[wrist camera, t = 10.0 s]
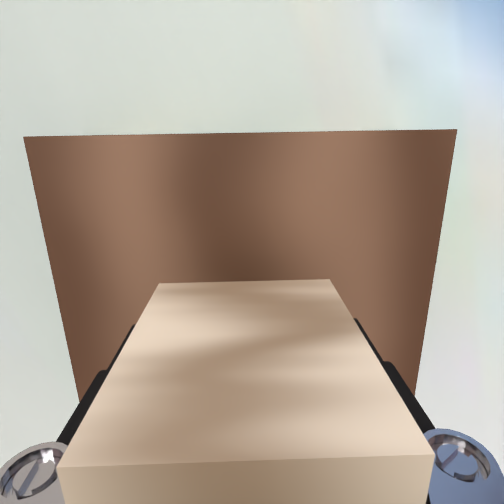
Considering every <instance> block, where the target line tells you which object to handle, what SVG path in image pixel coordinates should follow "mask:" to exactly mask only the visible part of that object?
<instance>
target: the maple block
mask: <svg viewBox="0 0 504 504" xmlns="http://www.w3.org/2000/svg"><path fill="white" fill-rule="evenodd" d="M434 458H435V453H434V451H433V450H432V448H431V446H430V445H429V443H428V441H427V440H426V438H425V436H424V435H423V433H422V431H421V430H420V428H419V426H418V425H417V423H416V422H415V420H414V418H413V417H412V415H411V413H410V412H409V410H408V408H407V407H406V405H405V403H404V402H403V400H402V398H401V397H400V395H399V393H398V392H397V390H396V388H395V387H394V385H393V383H392V382H391V380H390V378H389V377H388V375H387V373H386V372H385V370H384V369H383V367H382V365H381V364H380V362H379V360H378V359H377V357H376V355H375V354H374V352H373V350H372V349H371V347H370V345H369V344H368V342H367V340H366V339H365V337H364V335H363V334H362V332H361V330H360V329H359V327H358V325H357V324H356V322H355V320H354V319H353V317H352V316H351V314H350V312H349V311H348V309H347V307H346V306H345V304H344V302H343V301H342V299H341V297H340V296H339V294H338V292H337V291H336V289H335V287H334V286H333V284H332V282H331V281H330V279H317V280H277V281H236V282H196V283H159V284H158V286H157V288H156V290H155V291H154V293H153V295H152V297H151V299H150V300H149V302H148V304H147V306H146V307H145V309H144V311H143V313H142V315H141V316H140V318H139V320H138V322H137V324H136V325H135V327H134V329H133V331H132V333H131V334H130V336H129V338H128V340H127V341H126V343H125V345H124V347H123V349H122V350H121V352H120V354H119V356H118V358H117V359H116V361H115V363H114V365H113V367H112V368H111V370H110V372H109V374H108V376H107V377H106V379H105V381H104V383H103V384H102V386H101V388H100V390H99V392H98V393H97V395H96V397H95V399H94V401H93V402H92V404H91V406H90V408H89V410H88V411H87V413H86V415H85V417H84V418H83V420H82V422H81V424H80V426H79V427H78V429H77V431H76V433H75V435H74V436H73V438H72V440H71V442H70V444H69V445H68V447H67V449H66V451H65V453H64V454H63V456H62V458H61V460H60V461H59V463H58V465H57V467H56V469H57V473H58V477H59V481H60V485H61V489H62V493H63V497H64V501H65V504H426V499H427V494H428V489H429V484H430V479H431V474H432V468H433V463H434Z"/></svg>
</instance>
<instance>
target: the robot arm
mask: <svg viewBox="0 0 504 504" xmlns="http://www.w3.org/2000/svg"><path fill="white" fill-rule="evenodd" d="M353 319H354V320H355V322H356V324H357V325H358V327H359V329H360V330H361V332H362V334H363V335H364V337H365V339H366V340H367V342H368V344H369V345H370V347H371V349H372V350H373V352H374V354H375V355H376V357H377V359H378V360H379V362H380V364H381V365H382V367H383V369H384V370H385V372H386V373H387V375H388V377H389V378H390V380H391V382H392V383H393V385H394V387H395V388H396V390H397V392H398V393H399V395H400V397H401V398H402V400H403V402H404V403H405V405H406V407H407V408H408V410H409V412H410V413H411V415H412V417H413V418H414V420H415V422H416V423H417V425H418V426H419V428H420V430H421V431H422V433H423V435H424V436H425V438H426V440H427V441H428V443H429V445H430V446H431V448H432V450H433V451H434V453H435V458H434V463H433V468H432V474H431V479H430V484H429V489H428V494H427V499H426V504H504V476H503V474H502V472H501V470H500V467H499V465H498V463H497V462H496V460H495V459H494V457H493V455H492V454H491V453H490V452H489V451H488V450H487V449H486V448H485V447H484V446H483V445H482V444H480V443H479V442H477V441H476V440H474V439H473V438H471V437H469V436H467V435H465V434H463V433H460V432H457V431H453V430H450V429H438V428H437V429H435V427H434V426H433V424H432V422H431V421H430V419H429V418H428V416H427V415H426V413H425V412H424V410H423V409H422V407H421V406H420V404H419V403H418V401H417V400H416V398H415V397H414V395H413V394H412V392H411V391H410V389H409V387H408V386H407V384H406V383H405V381H404V380H403V378H402V377H401V375H400V374H399V372H398V371H397V369H396V368H395V366H394V365H393V364H392V363H391V362H389V361H383V359H382V358H381V356H380V355H379V353H378V351H377V350H376V348H375V347H374V345H373V343H372V342H371V340H370V339H369V337H368V335H367V334H366V332H365V331H364V329H363V327H362V326H361V324H360V323H359V321H358V320H357V318H353ZM135 325H136V324H133V325H132V327H131V328H130V330H129V332H128V334H127V335H126V337H125V339H124V341H123V342H122V344H121V346H120V348H119V349H118V351H117V353H116V355H115V356H114V358H113V360H112V362H111V363H110V365H109V367H108V368H107V370H101V371H99V372H98V374H97V375H96V376H95V378H94V380H93V381H92V383H91V385H90V386H89V388H88V390H87V391H86V393H85V395H84V396H83V398H82V400H81V401H80V403H79V404H78V406H77V408H76V409H75V411H74V413H73V414H72V416H71V418H70V419H69V421H68V423H67V424H66V426H65V428H64V429H63V431H62V433H61V434H60V436H59V437H58V439H57V441H56V442H47V443H41V444H38V445H35V446H32V447H29V448H27V449H26V450H24V451H22V452H20V453H18V454H17V455H15V456H14V457H13V458H11V459H10V460H9V461H7V462H6V463H5V464H4V465H3V467H2V468H1V469H0V504H65V501H64V497H63V493H62V489H61V485H60V481H59V477H58V473H57V469H56V467H57V465H58V463H59V461H60V460H61V458H62V456H63V454H64V453H65V451H66V449H67V447H68V445H69V444H70V442H71V440H72V438H73V436H74V435H75V433H76V431H77V429H78V427H79V426H80V424H81V422H82V420H83V418H84V417H85V415H86V413H87V411H88V410H89V408H90V406H91V404H92V402H93V401H94V399H95V397H96V395H97V393H98V392H99V390H100V388H101V386H102V384H103V383H104V381H105V379H106V377H107V376H108V374H109V372H110V370H111V368H112V367H113V365H114V363H115V361H116V359H117V358H118V356H119V354H120V352H121V350H122V349H123V347H124V345H125V343H126V341H127V340H128V338H129V336H130V334H131V333H132V331H133V329H134V327H135Z"/></svg>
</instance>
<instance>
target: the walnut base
mask: <svg viewBox="0 0 504 504" xmlns="http://www.w3.org/2000/svg"><path fill="white" fill-rule="evenodd" d="M456 134H457V129H446V130H386V131H328V132H269V133H210V134H151V135H92V136H35V137H23V138H24V143H25V148H26V152H27V157H28V162H29V166H30V171H31V176H32V180H33V185H34V190H35V195H36V199H37V204H38V209H39V213H40V218H41V223H42V228H43V232H44V237H45V242H46V246H47V251H48V256H49V261H50V265H51V270H52V275H53V279H54V284H55V289H56V293H57V298H58V303H59V308H60V312H61V317H62V322H63V326H64V331H65V336H66V341H67V345H68V350H69V355H70V359H71V364H72V369H73V374H74V378H75V383H76V388H77V392H78V397H79V402H80V401H81V400H82V398H83V396H84V395H85V393H86V391H87V390H88V388H89V386H90V385H91V383H92V381H93V380H94V378H95V376H96V375H97V374H98V372H99V371H101V370H107V368H108V367H109V365H110V363H111V362H112V360H113V358H114V356H115V355H116V353H117V351H118V349H119V348H120V346H121V344H122V342H123V341H124V339H125V337H126V335H127V334H128V332H129V330H130V328H131V327H132V325H133V324H137V322H138V320H139V318H140V316H141V315H142V313H143V311H144V309H145V307H146V306H147V304H148V302H149V300H150V299H151V297H152V295H153V293H154V291H155V290H156V288H157V286H158V284H159V283H196V282H236V281H277V280H317V279H330V281H331V282H332V284H333V286H334V287H335V289H336V291H337V292H338V294H339V296H340V297H341V299H342V301H343V302H344V304H345V306H346V307H347V309H348V311H349V312H350V314H351V316H352V317H353V318H357V320H358V321H359V323H360V324H361V326H362V327H363V329H364V331H365V332H366V334H367V335H368V337H369V339H370V340H371V342H372V343H373V345H374V347H375V348H376V350H377V351H378V353H379V355H380V356H381V358H382V359H383V361H389V362H391V363H392V364H393V365H394V366H395V368H396V369H397V371H398V372H399V374H400V375H401V377H402V378H403V380H404V381H405V383H406V384H407V386H408V387H409V389H410V391H411V392H412V394H413V395H414V396H415V389H416V383H417V377H418V371H419V364H420V358H421V352H422V346H423V339H424V333H425V327H426V321H427V314H428V308H429V302H430V296H431V290H432V283H433V277H434V271H435V265H436V258H437V252H438V246H439V240H440V233H441V227H442V221H443V215H444V209H445V202H446V196H447V190H448V184H449V177H450V171H451V165H452V159H453V152H454V146H455V140H456Z"/></svg>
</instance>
